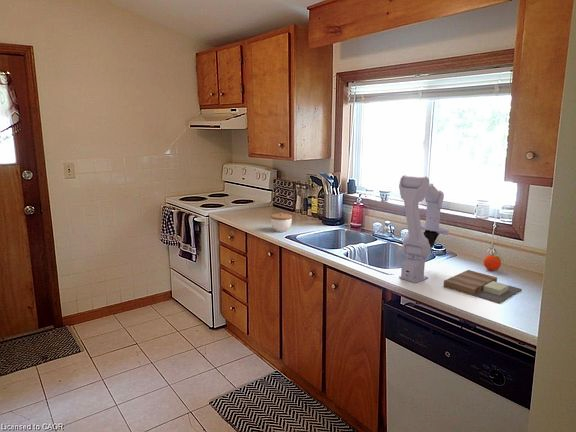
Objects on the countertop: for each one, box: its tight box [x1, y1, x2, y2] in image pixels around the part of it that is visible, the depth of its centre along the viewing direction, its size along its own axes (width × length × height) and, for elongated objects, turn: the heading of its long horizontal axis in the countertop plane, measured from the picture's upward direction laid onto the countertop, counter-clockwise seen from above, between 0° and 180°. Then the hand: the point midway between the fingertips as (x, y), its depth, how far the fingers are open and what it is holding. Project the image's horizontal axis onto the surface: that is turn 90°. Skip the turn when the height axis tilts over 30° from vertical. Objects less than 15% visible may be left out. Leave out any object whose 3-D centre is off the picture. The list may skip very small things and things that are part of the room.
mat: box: [472, 285, 523, 304], centre depth 162 cm, size 20×10×1 cm, turn 131°
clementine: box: [483, 254, 504, 272], centre depth 187 cm, size 8×7×7 cm
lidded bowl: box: [270, 211, 293, 233], centre depth 254 cm, size 13×13×11 cm
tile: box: [483, 281, 510, 295], centre depth 163 cm, size 8×6×2 cm
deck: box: [443, 269, 498, 296], centre depth 169 cm, size 20×12×2 cm, turn 131°
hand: (430, 247), depth 188 cm, fingers closed
